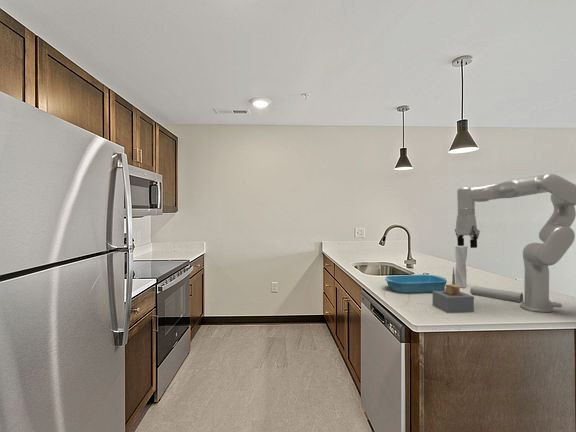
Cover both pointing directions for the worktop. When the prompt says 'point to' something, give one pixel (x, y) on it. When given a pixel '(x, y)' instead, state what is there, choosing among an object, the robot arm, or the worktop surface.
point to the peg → (452, 290)
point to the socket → (453, 302)
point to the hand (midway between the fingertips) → (467, 246)
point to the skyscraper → (460, 266)
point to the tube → (497, 294)
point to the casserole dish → (416, 283)
